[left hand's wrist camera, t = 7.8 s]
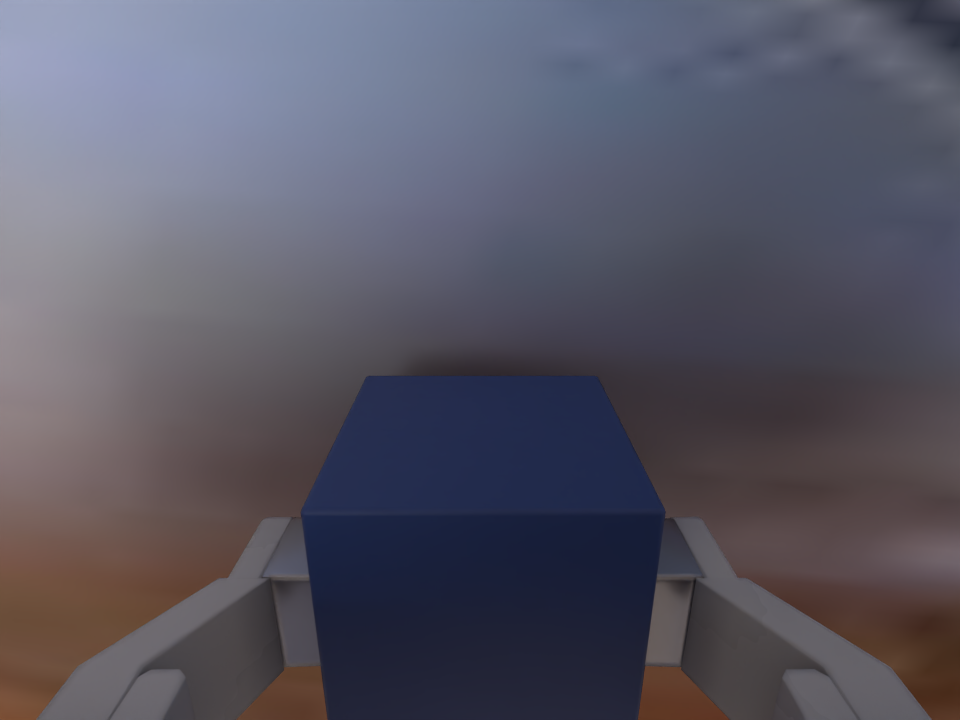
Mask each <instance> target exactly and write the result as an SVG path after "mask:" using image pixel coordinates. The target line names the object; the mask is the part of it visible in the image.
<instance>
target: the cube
mask: <svg viewBox="0 0 960 720" xmlns="http://www.w3.org/2000/svg"><path fill="white" fill-rule="evenodd" d="M665 513H666V512H665V509H664V507H663V505H662V503H661V501H660V499H659V497H658V495H657V493H656V491H655V489H654V487H653V485H652V483H651V481H650V479H649V477H648V475H647V473H646V471H645V469H644V467H643V466H642V464H641V462H640V460H639V458H638V456H637V454H636V452H635V450H634V448H633V446H632V444H631V442H630V440H629V438H628V436H627V434H626V432H625V430H624V428H623V426H622V424H621V422H620V420H619V418H618V416H617V414H616V412H615V410H614V408H613V406H612V404H611V402H610V400H609V398H608V396H607V394H606V392H605V391H604V389H603V387H602V385H601V383H600V381H599V379H598V377H596V376H368V377H366V379H365V381H364V383H363V385H362V387H361V389H360V391H359V393H358V395H357V397H356V399H355V401H354V403H353V405H352V407H351V409H350V412H349V414H348V416H347V418H346V420H345V422H344V424H343V426H342V428H341V430H340V432H339V434H338V436H337V438H336V440H335V442H334V444H333V446H332V448H331V450H330V452H329V454H328V456H327V459H326V461H325V463H324V465H323V467H322V469H321V471H320V473H319V475H318V477H317V479H316V481H315V483H314V485H313V487H312V489H311V491H310V493H309V495H308V497H307V499H306V501H305V503H304V506H303V508H302V510H301V518H302V526H303V534H304V541H305V549H306V557H307V564H308V572H309V580H310V588H311V595H312V603H313V611H314V618H315V626H316V634H317V641H318V649H319V657H320V665H321V672H322V680H323V688H324V695H325V703H326V711H327V719H328V720H638V714H639V706H640V699H641V692H642V684H643V677H644V669H645V662H646V654H647V647H648V639H649V632H650V624H651V617H652V610H653V602H654V595H655V587H656V580H657V572H658V565H659V557H660V550H661V543H662V535H663V528H664V520H665Z"/></svg>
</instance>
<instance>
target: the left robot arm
mask: <svg viewBox="0 0 960 720" xmlns="http://www.w3.org/2000/svg"><path fill="white" fill-rule="evenodd" d="M300 666H321V665H320V657H319V649H318V641H317V634H316V626H315V618H314V611H313V603H312V595H311V588H310V580H309V572H308V564H307V557H306V549H305V541H304V534H303V526H302V518H301V517H295V518H292V517H267V518H265V519H263V520H262V521H261V522H260V524H259V526H258V527H257V529H256V531H255V532H254V534H253V536H252V538H251V539H250V541H249V543H248V544H247V546H246V548H245V549H244V551H243V553H242V555H241V556H240V558H239V560H238V561H237V563H236V565H235V567H234V568H233V570H232V572H231V573H230V575H229V577H228V578H219V579H217V580H215V581H214V582H212V583H211V584H209V585H207V586H206V587H204V588H203V589H201V590H199V591H198V592H196V593H195V594H193V595H191V596H190V597H188V598H187V599H185V600H183V601H182V602H180V603H179V604H177V605H175V606H174V607H172V608H171V609H169V610H167V611H166V612H164V613H163V614H161V615H159V616H158V617H156V618H155V619H153V620H151V621H150V622H148V623H147V624H145V625H143V626H142V627H140V628H139V629H137V630H135V631H134V632H132V633H131V634H129V635H127V636H126V637H124V638H123V639H121V640H119V641H118V642H116V643H115V644H113V645H111V646H110V647H108V648H107V649H105V650H103V651H102V652H100V653H99V654H97V655H95V656H94V657H92V658H91V659H89V660H87V661H86V662H84V663H83V664H81V665H79V666H78V667H77V668H76V669H75V671H74V672H73V673H72V674H71V676H70V677H69V678H68V680H67V681H66V682H65V683H64V685H63V686H62V687H61V689H60V690H59V691H58V692H57V694H56V695H55V696H54V698H53V699H52V700H51V701H50V703H49V704H48V705H47V707H46V708H45V709H44V710H43V712H42V713H41V714H40V716H39V717H38V718H37V719H36V720H236V719H237V718H238V717H239V716H240V715H241V714H242V713H243V712H244V711H245V710H246V709H247V708H248V707H249V706H250V705H251V704H252V703H253V702H254V700H255V699H256V698H257V697H258V696H259V695H260V694H261V693H262V692H263V691H264V690H265V689H266V688H267V687H268V686H269V685H270V684H271V683H272V682H273V681H274V680H275V679H276V678H277V677H278V676H279V675H280V674H281V673H282V672H283V671H284V667H300ZM645 666H665V667H681V670H682V671H683V672H684V673H685V674H686V675H687V676H688V677H689V678H690V679H691V680H692V681H693V682H694V683H695V684H696V685H697V686H698V687H699V688H700V689H701V690H702V691H703V692H704V693H705V694H706V695H707V696H708V697H709V698H710V700H711V701H712V702H713V703H714V704H715V705H716V706H717V707H718V708H719V709H720V710H721V711H722V712H723V713H724V714H725V715H726V716H727V717H728V718H729V719H730V720H931V718H930V717H929V716H928V714H927V713H926V712H925V711H924V709H923V708H922V707H921V706H920V704H919V703H918V702H917V700H916V699H915V698H914V697H913V695H912V694H911V693H910V692H909V690H908V689H907V688H906V686H905V685H904V684H903V683H902V681H901V680H900V679H899V678H898V676H897V675H896V674H895V672H894V671H893V670H892V669H891V667H889V666H887V665H886V664H884V663H882V662H881V661H879V660H878V659H876V658H874V657H873V656H871V655H870V654H868V653H866V652H865V651H863V650H862V649H860V648H858V647H857V646H855V645H853V644H852V643H850V642H849V641H847V640H845V639H844V638H842V637H841V636H839V635H837V634H836V633H834V632H833V631H831V630H829V629H828V628H826V627H824V626H823V625H821V624H820V623H818V622H816V621H815V620H813V619H812V618H810V617H808V616H807V615H805V614H803V613H802V612H800V611H799V610H797V609H795V608H794V607H792V606H791V605H789V604H787V603H786V602H784V601H783V600H781V599H779V598H778V597H776V596H774V595H773V594H771V593H770V592H768V591H766V590H765V589H763V588H762V587H760V586H758V585H757V584H755V583H754V582H752V581H750V580H749V579H747V578H738V577H737V576H736V574H735V572H734V571H733V569H732V567H731V566H730V564H729V562H728V561H727V559H726V557H725V556H724V554H723V553H722V551H721V549H720V548H719V546H718V544H717V543H716V541H715V539H714V538H713V536H712V534H711V533H710V531H709V530H708V528H707V526H706V525H705V523H704V521H703V520H702V519H701V518H699V517H673V518H665V520H664V528H663V535H662V543H661V550H660V557H659V565H658V572H657V580H656V587H655V595H654V602H653V610H652V617H651V624H650V632H649V639H648V647H647V654H646V662H645Z"/></svg>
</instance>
